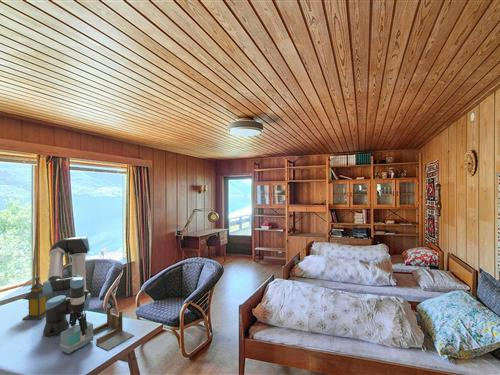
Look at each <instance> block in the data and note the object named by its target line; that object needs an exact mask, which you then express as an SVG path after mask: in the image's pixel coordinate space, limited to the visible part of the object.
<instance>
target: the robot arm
mask: <svg viewBox="0 0 500 375" xmlns="http://www.w3.org/2000/svg"><path fill="white" fill-rule="evenodd" d="M90 251H91V250H90V244H89V238H88V237H87V236H78V237H69V238H68V237H65V238H61V239H58V240H57V241H56V242H54V243H53V244H52V246H51V247H50V249H49V252H48V256H49V257H50V258H49V264H48V266H49V267H48V273H47V280H46V281H44V282H43V283H42V285H43V293H50V294H53V293H58V292H63V291H69V290H70V293H69V296H66V295H65V294H63V295H62V294H61V295H57V296H54V297H52V298H50V299H48V300H47V302H46V308H45V310H46V317H45V325H44V327H43V330H42V335H43V337H45V338H52V337H53V338H54V337H58V336H61V334H60V333H61V332H63V331H65V330H67V329H69V328H71V327H74V326H76V325H77V321H78V324H79V325H80V329H81V330H80V341H82V340H84V339H85V330H86V329H87V322H88V321H87V313H86V311H88V310H89V309H90V302H91V293H90V292H89V290H88V289H87V283H86V279H87V278H86V277H87V276H86V273H87V272H86V270H87V269H86V256H87V255H88V254H89V252H90ZM65 255H69V257H70V258H71V277H65V278H63V269H64V268H63V266H64V264H63V263H64V257H65ZM84 311H85V313H84ZM67 316H69V320H68V318H67Z"/></svg>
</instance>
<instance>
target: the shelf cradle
mask: <svg viewBox="0 0 500 375" xmlns="http://www.w3.org/2000/svg"><path fill="white" fill-rule="evenodd" d="M108 326H109V327H108ZM106 327H107V328H110V327H111V328H110V329H113V328H114V329H113V330H111V331H108V332H107V333H105V334H103V335H100V336H99V337H97V338H96V340H95V341H96V342H95V343H96V344H98V343H100V342H102V341H103V340H105V339H107V338H109V337H111V336H113V335H115V334H117V333H118V332H120V331H122V330H123V310H119V311H118V314H116V313H114V312H111V306H106V322H104V323H102V324H101V325H98V326H96V327H93V335H94V334H97V333H99V332H101V331H103V330H105V329H107V328H106ZM123 331H124V330H123Z"/></svg>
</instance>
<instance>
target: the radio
mask: <svg viewBox="0 0 500 375" xmlns="http://www.w3.org/2000/svg"><path fill="white" fill-rule="evenodd" d="M83 313H86V311H83ZM75 325H76V326H74V327H71V326H70V327H69V329H67V330H65V331H63V332H61V333H60V334H61V335H60V350H61V351H62V352H64V353H66V354H72V353H73V352H74V351H76V350H78V349H80V348H81V347H84V346H85V345H88V344H90V343H91V342H93V340H94V334H93V329H94V323H92V322H89V321H87V329H86V330H85V339H84V340H82V341H80V330H81V329H80V325H79V323H78V324H75Z"/></svg>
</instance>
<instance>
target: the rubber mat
mask: <svg viewBox="0 0 500 375" xmlns="http://www.w3.org/2000/svg"><path fill="white" fill-rule="evenodd" d="M133 337H135V335H134V334H133V333H129V332H127V331H125V330H122V331H120V332H118V333H117V334H115V335H113V336H111V337H109V338H107V339H105V340H103V341H102V342H100V343H98V344H97V343H96V344H95V346H96V347H98V348H101V349H103V350H104V351H106V352H109V351H110V350H112V349H114V348H116V347H118V346H119V345H121V344H122V342H123V343H125V342H126V341H127V340H129V339H131V338H133ZM115 346H116V347H115ZM108 350H109V351H108Z"/></svg>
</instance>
